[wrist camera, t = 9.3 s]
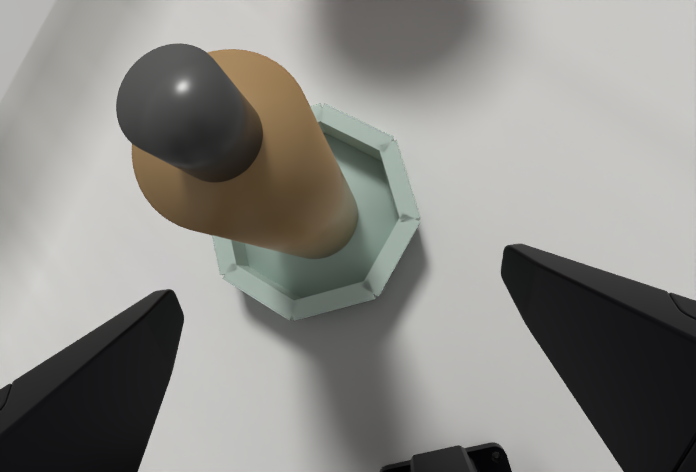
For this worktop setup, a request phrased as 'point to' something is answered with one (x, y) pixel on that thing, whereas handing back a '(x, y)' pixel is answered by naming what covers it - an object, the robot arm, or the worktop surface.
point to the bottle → (234, 151)
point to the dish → (363, 248)
